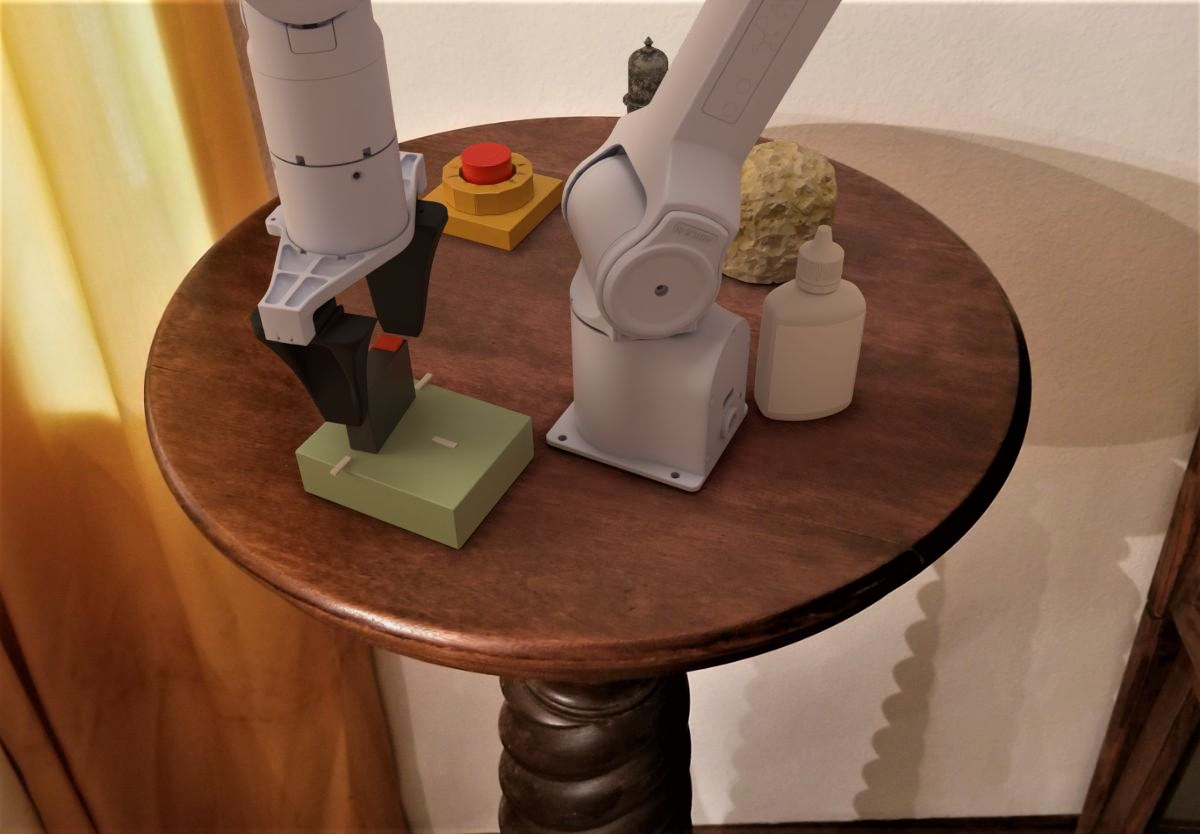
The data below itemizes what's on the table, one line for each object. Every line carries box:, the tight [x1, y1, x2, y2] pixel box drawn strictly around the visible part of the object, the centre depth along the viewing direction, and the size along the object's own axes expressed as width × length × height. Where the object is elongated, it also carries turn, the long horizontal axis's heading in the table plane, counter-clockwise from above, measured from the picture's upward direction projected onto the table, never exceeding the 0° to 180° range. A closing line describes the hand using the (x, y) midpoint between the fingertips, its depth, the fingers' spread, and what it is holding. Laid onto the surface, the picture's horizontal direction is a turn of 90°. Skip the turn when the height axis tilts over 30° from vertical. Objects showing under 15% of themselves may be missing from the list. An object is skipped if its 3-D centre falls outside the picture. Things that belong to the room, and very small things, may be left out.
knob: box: [346, 333, 416, 454], centre depth 61 cm, size 5×2×4 cm, turn 163°
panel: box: [295, 372, 535, 550], centre depth 63 cm, size 12×9×3 cm
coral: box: [722, 138, 839, 285], centre depth 78 cm, size 9×9×8 cm
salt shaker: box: [622, 36, 669, 115], centre depth 84 cm, size 6×6×12 cm
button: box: [460, 142, 513, 185], centre depth 83 cm, size 4×4×2 cm
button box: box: [421, 151, 564, 252], centre depth 84 cm, size 8×8×4 cm
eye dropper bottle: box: [753, 225, 867, 422], centre depth 64 cm, size 4×6×12 cm
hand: (375, 373), depth 60 cm, fingers open, 7 cm apart
